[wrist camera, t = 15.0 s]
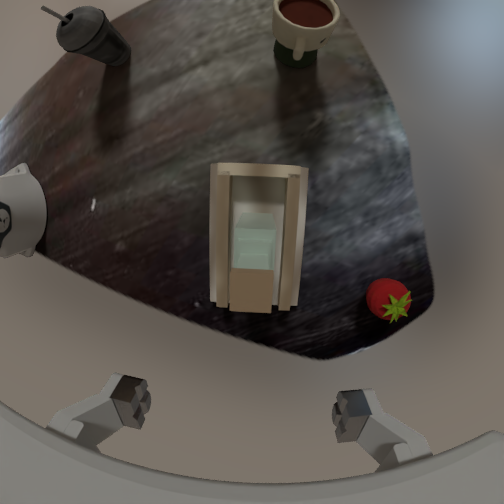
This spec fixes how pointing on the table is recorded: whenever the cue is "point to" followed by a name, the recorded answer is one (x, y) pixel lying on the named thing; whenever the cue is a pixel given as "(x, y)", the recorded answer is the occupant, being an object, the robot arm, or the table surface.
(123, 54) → the beverage cup
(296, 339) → the table surface
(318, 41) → the character mug
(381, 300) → the strawberry
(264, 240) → the pale green flat bottle
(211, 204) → the u rest
